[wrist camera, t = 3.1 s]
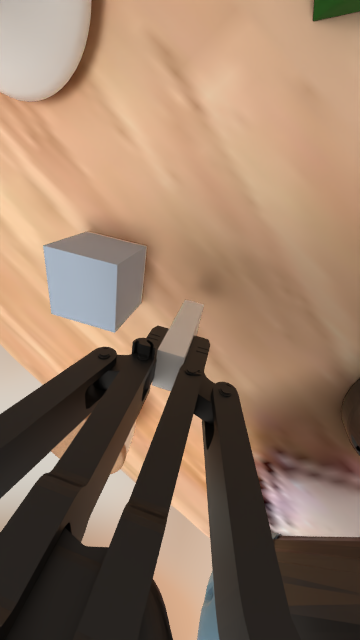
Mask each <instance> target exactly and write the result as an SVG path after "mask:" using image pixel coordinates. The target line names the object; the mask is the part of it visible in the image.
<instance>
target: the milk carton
mask: <svg viewBox="0 0 360 640" xmlns="http://www.w3.org/2000/svg"><path fill="white" fill-rule="evenodd" d="M359 11H360V0H314V12H313V21H316V20H321V19H326V18H331V17H335V16H340V15H345V14H350V13H354V12H359Z"/></svg>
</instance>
